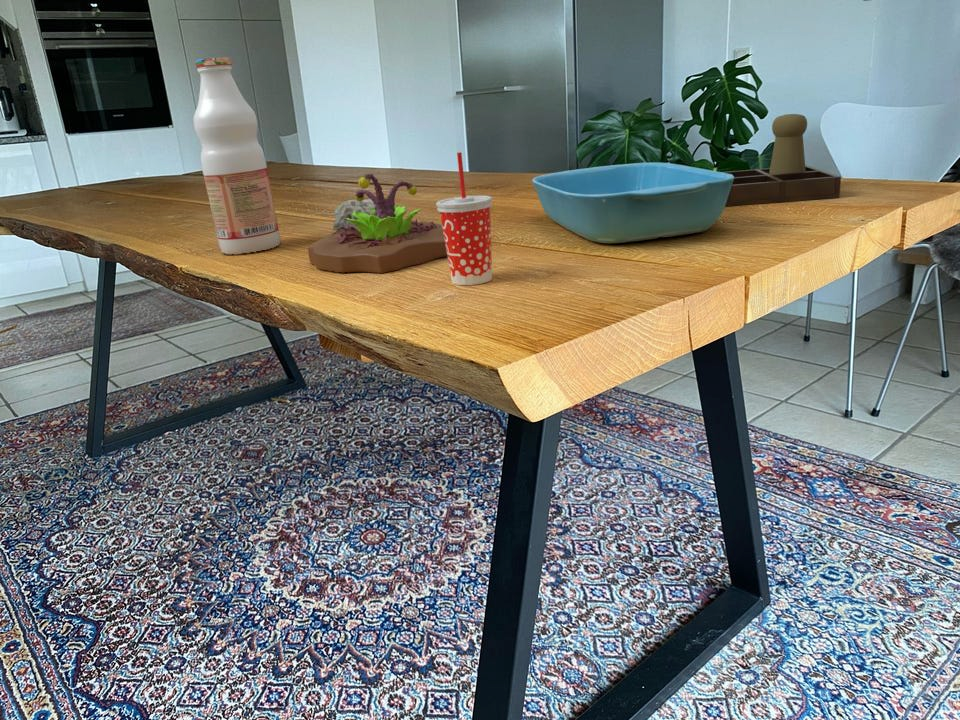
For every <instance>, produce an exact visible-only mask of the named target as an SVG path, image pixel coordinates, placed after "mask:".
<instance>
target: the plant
mask: <svg viewBox="0 0 960 720" xmlns="http://www.w3.org/2000/svg"><path fill="white" fill-rule="evenodd" d="M370 181H372V183H373V187H374V188H373V189H374V191H375V193H372V192H371V191H369V190H366V189H367V188H369V186H370V183H371V182H370ZM357 184H358V186H359V188H360V189H358V190H357V191H356V192H355V193H354V198H355V199H354V200H357V201H360V202H361V201H363V200H365V196H367V197H368V199H371V200H372V201H373V203H374V204H375V208H372V209H371V216H370V215H368V214H366V213H363V212H357V211H355V212H354V214H353V215H354V217H356V218H357V219H358V220H359V221H358V220H353V219H349V218H347V220H348V221H350V222H351V223H353V224H355V225H356V226H357V228H358V229H355V228H354V227H353V226H350V227H348V228H347V229H346V228H344V227H339V228H338V230H337V232H336V231H335V232H334V233H331V234H329V235H327V236H325V237H322V238H320V239H319V240H317V241H316V242H314V243H312V244H310V245H308V246H307V251H308V252H307V253H308V259H309V263H310V264H311V265H314V266H315V267H316V269H319V270H321V271H326V270H327V271H326V272H333V271H334V272H333V273H339V272H341V274H343V273H344V274H345V272H347V273H358V272H359V273H372V274H373V273H376V274H384V273H388V272H395V271H399V270H402V269H404V268H408V267H413V266H417V265H421V264H424V263H428V262H431V261H434V260H436V259H441V258H448V256H447V251H446V245H445V239H444V233H443V228H442V224H438V223H435V222H434V221H419V222H418V219H417V218H415V220H413V218H414V217H415V216H416V215H418V213H419V212H420V210H421V208H420V207H419V208H417V209H414V210H412V211H410V213H408V215H407V216H406V218H405V219H404V216H405V214H407V212H408V211H407V209H406V206H405V205H402V206H400V205H395V204H396V203H395V201H396V200H395V199H396V194H397V192H398V189H400V187H403V186H405V187H406V190H407V193H408V194H409V195H411V196H415V195H416V194H417V192H418V189H417V187H416V186H415V185H414V184H413V183H411V182H407V181H404V180H401V181H400V182H399V181H398V182H397V183H395V184H394V185H393V186H392V187H391V189H390V190H389V191H388V195H387V197H386V198H385V195H384V192H383V187H382V185H381V184H380V181H379V180H378V178H377V177H376V176H374V174H373V173H370V174H369V173H367V174H365V173H364V175H362V176H361V177H360V178H359V179H358V183H357ZM349 228H351V229H349ZM340 229H344V230H341V231H340V232H339V233H338V231H339V230H340Z"/></svg>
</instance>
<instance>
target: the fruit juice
mask: <svg viewBox="0 0 960 720" xmlns="http://www.w3.org/2000/svg"><path fill="white" fill-rule="evenodd" d="M195 67H196V70H197V73H199V75H200V76H199V77H200V85H199V96H198V103H197V106H196V109H195V112H194V114H193V119H192V123H193V129H194V132H195V134H196V136H197V138H198V140H199V142H200V146H201V151H200V164H201V171H202V176H203V179H204V184H205V187H206V192H207V193H206V194H207V197H208V198H207V199H208V202H209V206H210V211H211V215H212V220H213V224H214V228H215V234H216V239H217V242H218V247H219V250H220V251H221V253H222V254H224V253H225V254H224V255H232V254H233V255H243V254H242V253H247V254H251V253H250V252H254V253H257V252H256V251H260V252H262V251H261V250H265V249H268V250H270V249H269V248H272V249H274V248H273V247H275V248H277V247H278V246H280V245H281V234H280V228H279V224H278V218H277V213H276V209H275V202H274V196H273V193H272V187H271V182H270V177H269V171H268V165H267V161H266V156H265V152H264V150H263V148H262V147H261V145H260V143H259V141H258V119H257V116H256V113H255V111H254V109H253V108H252V107H251V106H250V105H249V104H248V102H247V101H246V100H245V97H243V94H242V93H241V91H240V89H239V88H238V86H237V83H236V82H235V80H234V77H233V75H232V70H233V68H232V62H231V59H230V58H229V57H211V58H210V57H209V58H201V59H197V60H195ZM276 246H277V247H276ZM265 251H266V250H265Z"/></svg>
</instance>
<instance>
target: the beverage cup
mask: <svg viewBox="0 0 960 720" xmlns="http://www.w3.org/2000/svg"><path fill="white" fill-rule="evenodd" d="M456 155H457V156H456V157H457V166H458V175H459V186H460V187H459V188H460V194H461V195H460V196H457V197H451V198H444V199H441V200H439V201H437V202H436V204H435V205H436V207H437V209H436V211H437V212H439V215H440V221H441V222H440V223H441V225H442V228H443V233H444V239H445V245H446V251H447V262H448V267H449V272H450V278H451V283H453V285H457V286H473V285H481V284H484V283H488V282H490V281H491V280H492V279H493V260H492V259H493V258H492V253H493V252H492V224H491V222H492V221H491V220H492V219H491V207H492V206H493V202H492V201H493V197H492V196H490V195H466V194H467V193H466V183H465V175H464V173H465V172H464V165H463V164H464V163H463V155H462V152H461V151H460V152H457V153H456Z"/></svg>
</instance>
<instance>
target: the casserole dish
mask: <svg viewBox="0 0 960 720" xmlns="http://www.w3.org/2000/svg"><path fill="white" fill-rule="evenodd" d="M722 172H723V171H718V170H717V171H716V170H711V169H706V168H699V167H694V166H690V165H689V166H688V165H685V164H684V165H683V164H677V163H670V162H659V161H658V162H657V161H655V162H636V163H633V162H632V163H626V164H625V163H623V164H611V165H602V166H601V165H600V166H594V167H587V168H586V167H585V168H578V169H577V168H576V169H571V170H564V171H558V172H557V171H556V172H551V173H545V174H542V175H538V176H535V177H533V178H532V185H533V187H534V189H535V192H536V194H537V196H538V200H539V202H540V205H541V207H542V209H543V211H544V213H545V214H546V216H547V217H548V218H549V219H550V220H551V221H553V222H555V223H556V224H558V225H560V226H561V227H562V228H565V229H567V230H568V231H570V232H572V233H574V234H576V235H578V236H580V237H582V238H585V239H586V240H589V241H592V242H596V243H602V244H618V243H619V244H620V243H628V242H638V241H639V242H640V241H645V240H655V239H658V238H660V237H661V238H668V237H677V236H683V235H689V234H695V233H701V232H705V231H707V230H708V229H709V228H711V226H713V225H714V224H715V223H716V222H717V221H718V220H719V219H720V218H721V216H722V214H723V211H724V209H725V207H726V206H725V204H726V202H727V198H728V195H729V192H730V189H731V186H732V183H733V180H734V176H733V175H731V174H728V173H722Z"/></svg>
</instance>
